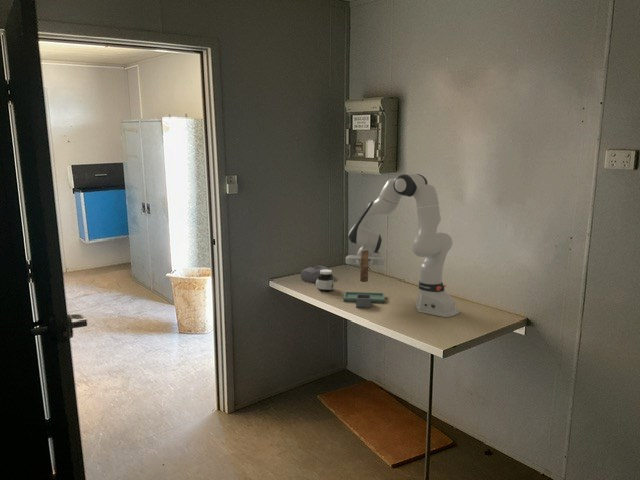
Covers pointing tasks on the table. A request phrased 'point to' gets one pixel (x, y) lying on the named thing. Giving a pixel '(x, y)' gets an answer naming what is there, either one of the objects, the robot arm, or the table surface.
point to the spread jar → (325, 280)
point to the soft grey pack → (312, 273)
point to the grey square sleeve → (363, 301)
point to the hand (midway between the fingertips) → (364, 263)
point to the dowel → (364, 266)
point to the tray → (374, 296)
